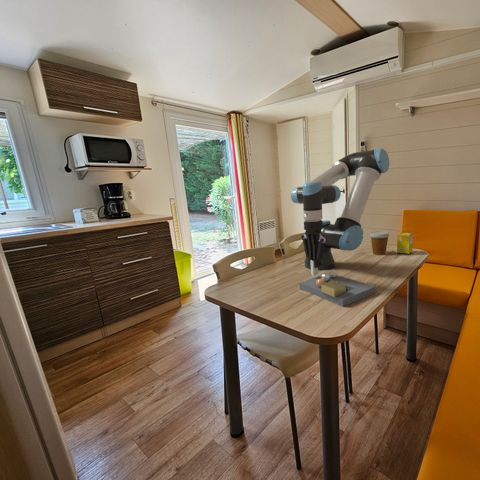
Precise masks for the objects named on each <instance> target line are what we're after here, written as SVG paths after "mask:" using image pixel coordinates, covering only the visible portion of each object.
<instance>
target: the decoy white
mask: <svg viewBox="0 0 480 480" xmlns="http://www.w3.org/2000/svg"><path fill="white" fill-rule="evenodd" d="M328 273H329V276H330V277H332V278H334V277H336V276H337V275H338V271H337V270H336V269H330V270H329V272H328Z"/></svg>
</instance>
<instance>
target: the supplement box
mask: <svg viewBox="0 0 480 480" xmlns="http://www.w3.org/2000/svg"><path fill="white" fill-rule="evenodd" d="M396 239H397V240H396V242H397V243H396V246H397V247H396V254H398V255H404V256H410V255H411V254H412V253H413V240H414V234H413V232H411V233H410V232H400V233H398V234H397V237H396Z"/></svg>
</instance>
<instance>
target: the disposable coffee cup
mask: <svg viewBox="0 0 480 480" xmlns="http://www.w3.org/2000/svg"><path fill="white" fill-rule="evenodd" d="M369 236H370V241H371V247H372V248H371V249H372V250H371V251H372V254H373V255H376V256H384V255H386V253H387V246H388V240H389V237H390V233H389V232H388V231H381V230H380V231H377V230H376V231H371V232H370V233H369Z"/></svg>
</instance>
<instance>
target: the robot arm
mask: <svg viewBox="0 0 480 480" xmlns="http://www.w3.org/2000/svg"><path fill="white" fill-rule="evenodd" d="M389 168H390V157H389V154H388V152H387V150H385V149H384V148H375V149H371V150H364V151H363V150H362V151H357V152H353V153H349V154H348V155H346V156H344V157H342V158H340V159H338V160H337V161H336V162H334V163H333V164H332V165H331V167H330V168H328V169H327V170H326V171H324V172H323V173H321V174H319V175H317V176H316V177H315V178H313V179H312V180H310V181H309V182H305V183H303V184H302V186H299V187H294V188H293V189H292V190H291V192H290V198H291V199H290V200H291V201H292V203H294V204H299V205H301V204H302V205H303V207H302V209H303V230H305V232H304V234H302V235H300V238H301V240H302V243H303V248H304V253H305V260H304V267H305V268H306V269H310V275H311V276H316V275H319V270H320V271H321V270H323V271H324V270H329V269H330V270H331V269H333V268H334V267H335V266H336V260H335V259H334V257H333V256H334V255H333V253H332V249H336V250H341V251H348V252H349V251H351V252H352V251H355V250H357V249H358V248H359V247H360V246H361V244H362V242H363V239H364V230H363V228H362V224H361V222H360V221H361V219H362V217H363V214H364V210H365V208H366V206H367V202H368V200H369V197H370V195H371V191H372V190H373V187H374V185H375V182H377V181H378V180H380V177H381V175H382V174H385V173H387V172H388V171H389ZM352 176H355V180H354V183H353V185H352V188H351V190H350V192H349V195H348V198H347V199H346V203H345V205H344V207H343V210H342V213H341V215H340V216H339V217H337V218H336V219H335V222H334V223H332V222H331V220H327V219H326V220H322V219H323V205H326V204H333V203H336V202H338V201H339V200H340V198H341V194H342V192H341V189H340V188H339V186H337V185H334V184H335V183H337V182H338V181H340V180H343V179H344V180H345V179H346V178H348V177H352Z"/></svg>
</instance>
